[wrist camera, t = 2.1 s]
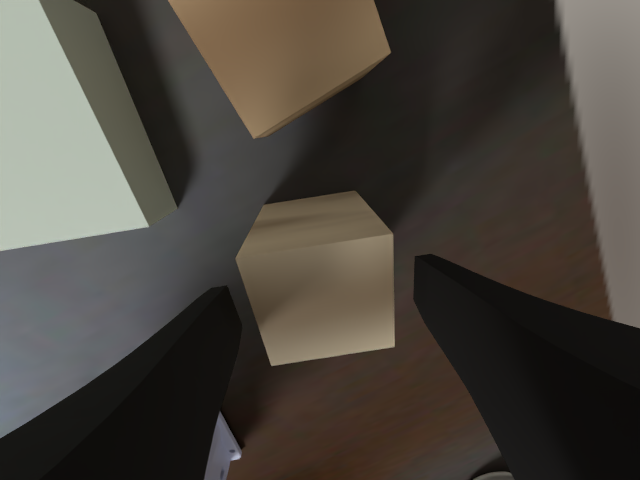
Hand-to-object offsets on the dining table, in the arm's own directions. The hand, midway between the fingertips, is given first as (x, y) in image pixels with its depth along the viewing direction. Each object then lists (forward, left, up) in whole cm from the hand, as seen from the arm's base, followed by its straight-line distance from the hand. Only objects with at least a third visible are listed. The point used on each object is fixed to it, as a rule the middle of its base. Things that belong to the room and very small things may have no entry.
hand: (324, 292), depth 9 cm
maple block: (0, 0, -5) cm, 5 cm away
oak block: (+9, 0, -5) cm, 10 cm away
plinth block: (+7, +11, -6) cm, 14 cm away
